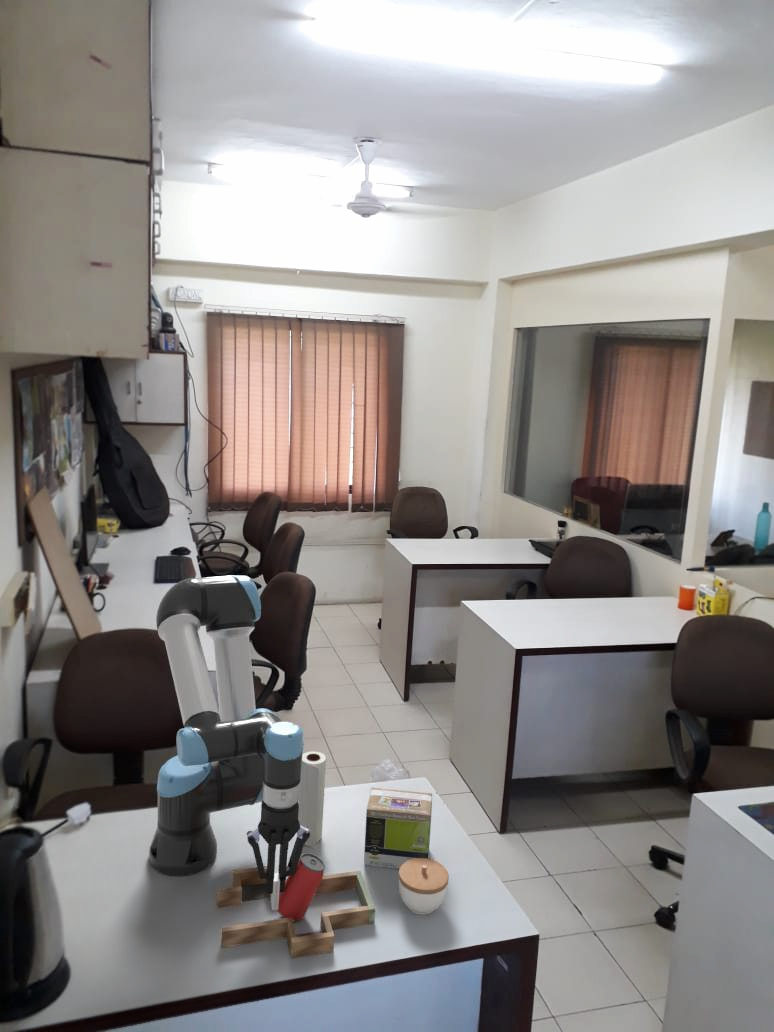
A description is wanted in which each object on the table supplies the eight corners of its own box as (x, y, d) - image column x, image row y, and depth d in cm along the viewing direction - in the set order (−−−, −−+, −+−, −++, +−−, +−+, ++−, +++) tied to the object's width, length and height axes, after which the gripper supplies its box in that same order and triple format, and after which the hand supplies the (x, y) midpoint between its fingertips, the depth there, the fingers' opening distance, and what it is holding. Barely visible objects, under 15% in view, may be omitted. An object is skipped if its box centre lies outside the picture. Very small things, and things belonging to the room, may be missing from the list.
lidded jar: (439, 887, 172) (442, 849, 170) (451, 921, 161) (454, 881, 159) (392, 889, 170) (395, 852, 168) (401, 924, 159) (404, 884, 158)
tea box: (429, 847, 186) (433, 792, 183) (427, 874, 176) (432, 816, 173) (367, 840, 187) (371, 785, 184) (362, 866, 177) (366, 808, 174)
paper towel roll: (302, 827, 190) (306, 748, 186) (325, 832, 189) (329, 753, 184) (291, 844, 183) (294, 762, 179) (314, 849, 182) (319, 767, 178)
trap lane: (224, 969, 145) (224, 953, 144) (215, 886, 167) (215, 872, 166) (381, 943, 154) (383, 928, 153) (353, 868, 176) (354, 854, 175)
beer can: (307, 911, 162) (330, 862, 161) (297, 927, 155) (322, 877, 154) (280, 895, 163) (303, 846, 162) (270, 911, 157) (294, 860, 156)
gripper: (250, 812, 148) (244, 921, 152) (315, 807, 152) (308, 914, 155) (246, 792, 155) (241, 897, 159) (308, 788, 159) (302, 890, 163)
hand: (274, 905), depth 157 cm, fingers closed
